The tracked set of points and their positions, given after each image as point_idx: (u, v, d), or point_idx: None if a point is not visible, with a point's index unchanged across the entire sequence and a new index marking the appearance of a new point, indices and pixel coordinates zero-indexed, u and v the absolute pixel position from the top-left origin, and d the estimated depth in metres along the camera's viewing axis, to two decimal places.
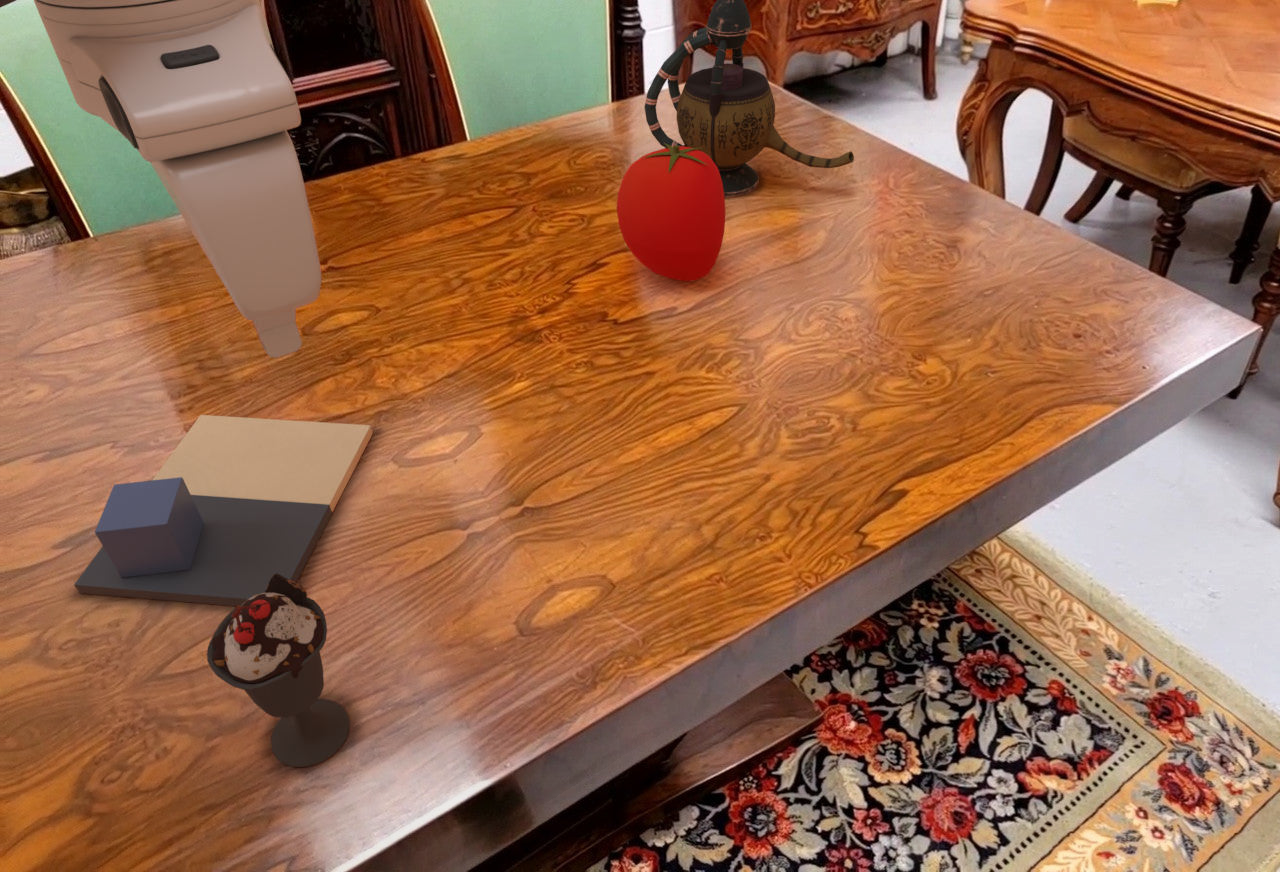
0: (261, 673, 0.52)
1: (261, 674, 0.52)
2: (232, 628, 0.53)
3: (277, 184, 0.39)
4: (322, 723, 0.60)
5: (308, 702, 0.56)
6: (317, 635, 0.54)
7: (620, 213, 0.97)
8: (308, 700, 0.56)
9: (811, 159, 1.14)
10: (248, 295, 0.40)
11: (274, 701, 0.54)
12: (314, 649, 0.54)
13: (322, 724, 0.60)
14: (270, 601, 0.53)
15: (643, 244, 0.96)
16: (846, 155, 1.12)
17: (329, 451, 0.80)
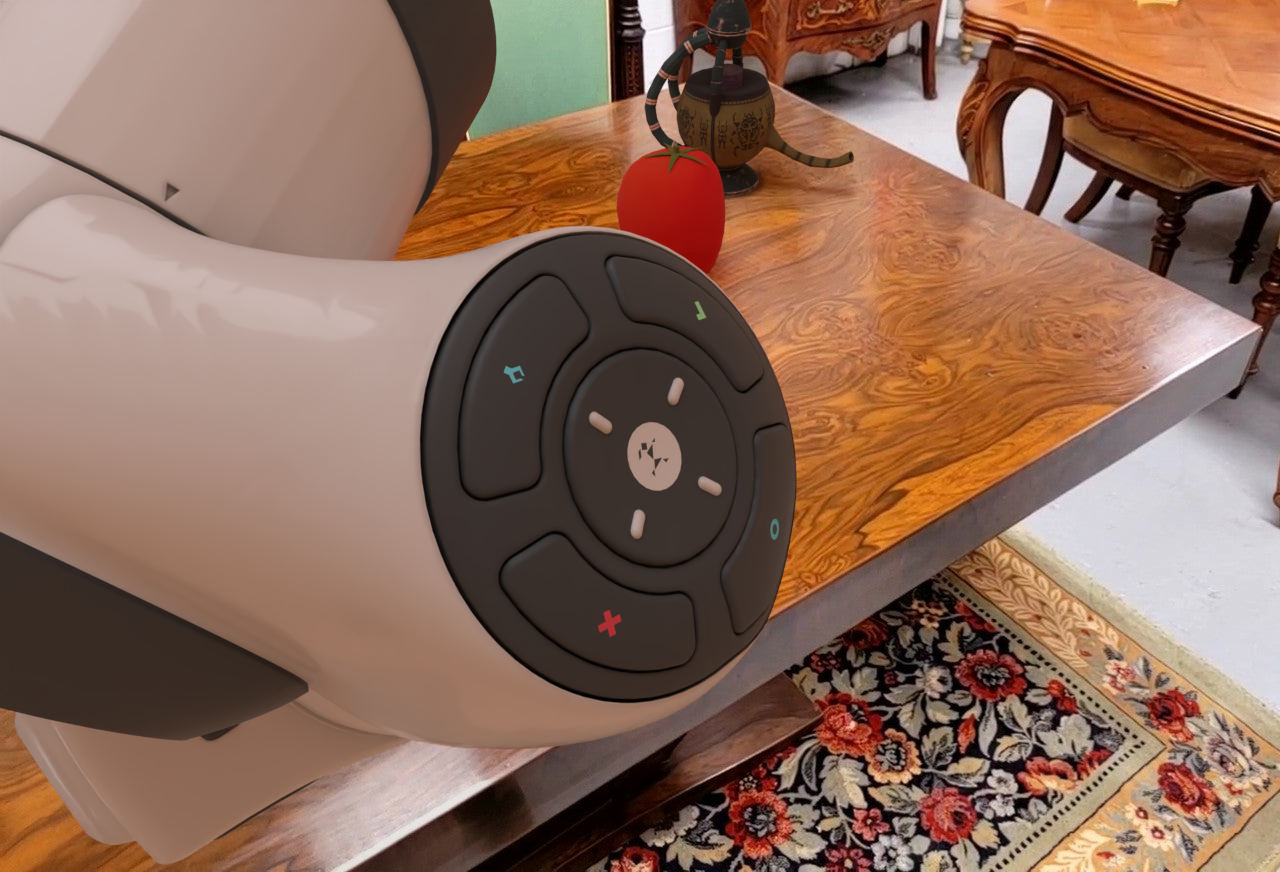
0: None
1: None
2: None
3: (88, 816, 0.25)
4: None
5: None
6: None
7: (620, 213, 0.97)
8: None
9: (811, 159, 1.14)
10: None
11: None
12: None
13: None
14: None
15: None
16: (846, 155, 1.12)
17: None
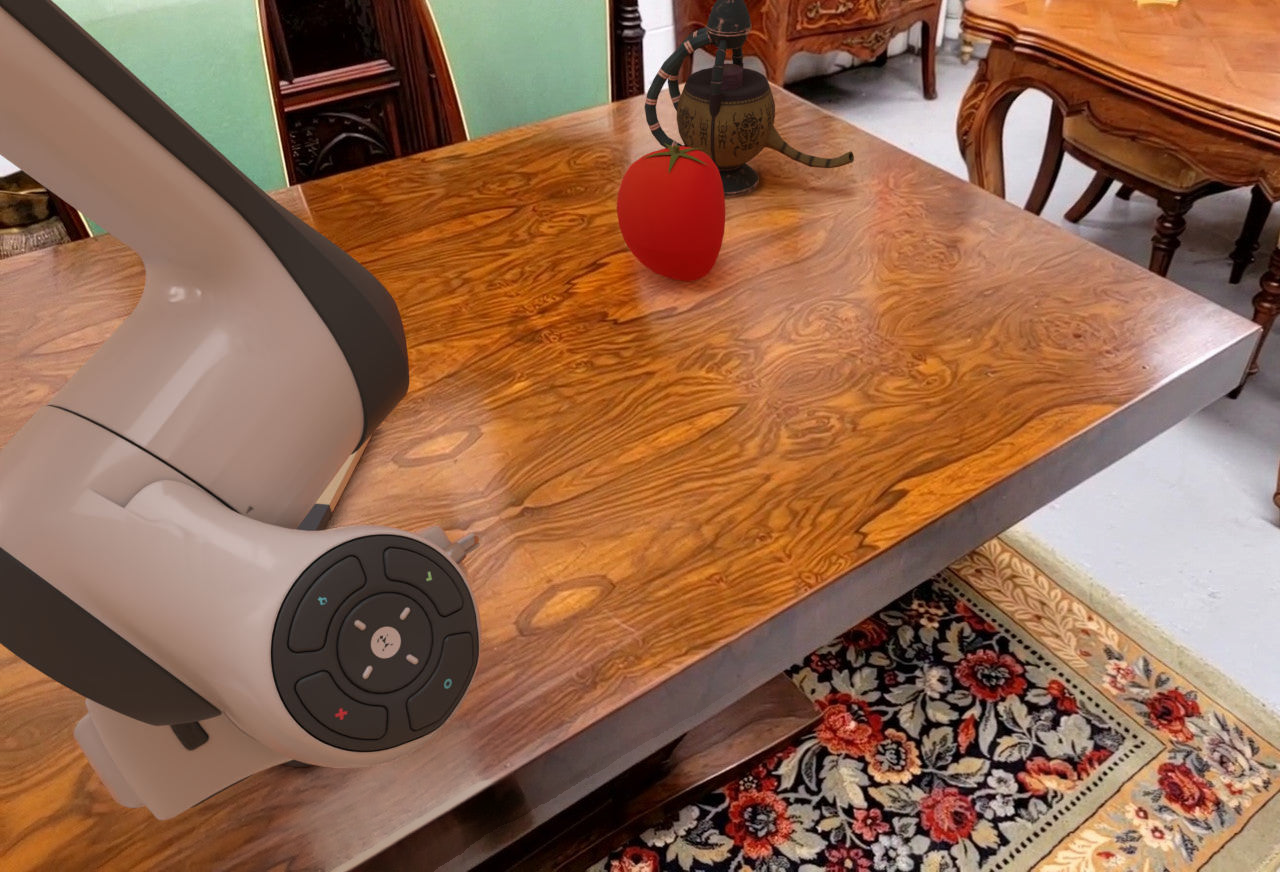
0: None
1: None
2: None
3: (117, 791, 0.42)
4: None
5: None
6: None
7: (620, 213, 0.97)
8: None
9: (811, 159, 1.14)
10: None
11: None
12: None
13: None
14: None
15: (643, 244, 0.96)
16: (846, 155, 1.12)
17: None
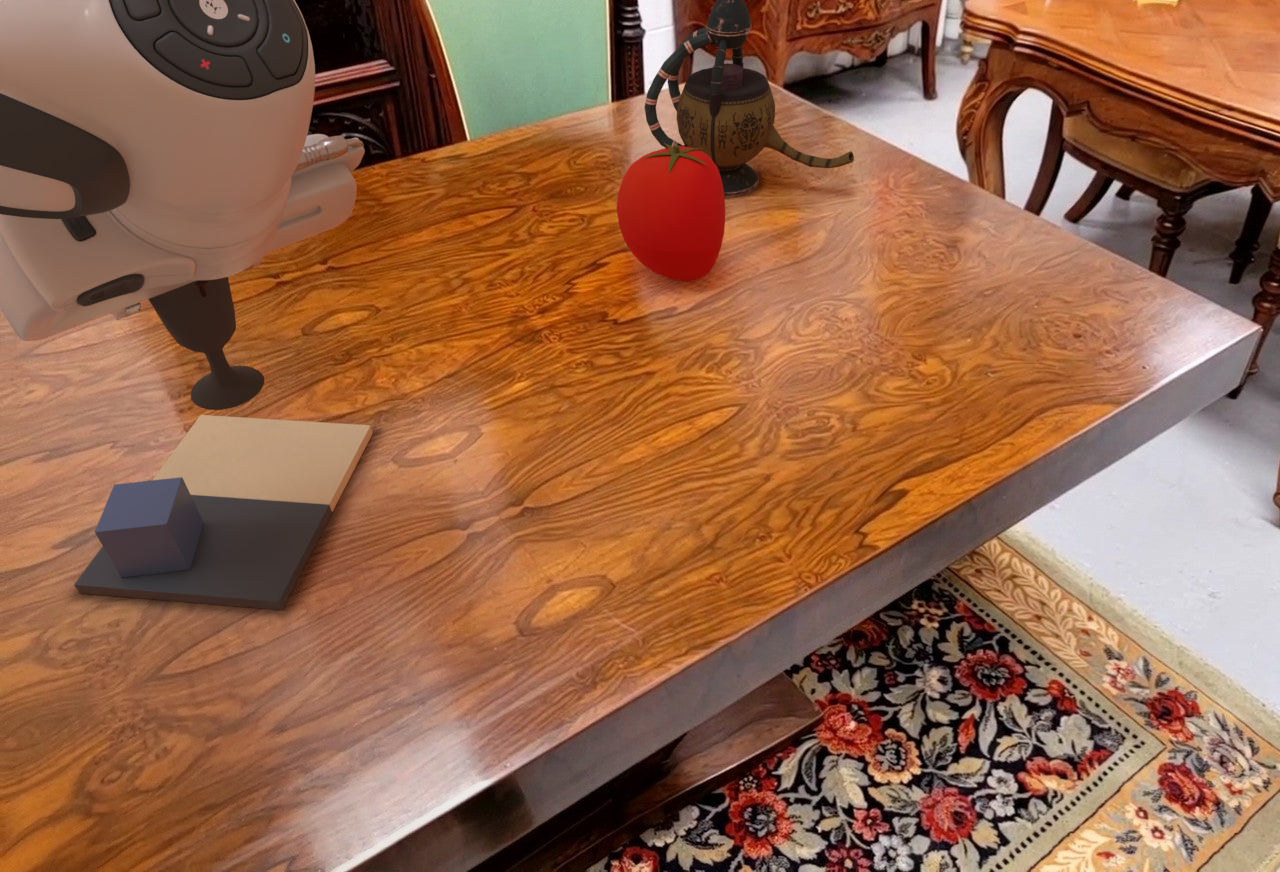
0: None
1: None
2: None
3: (19, 301, 0.47)
4: (238, 376, 0.65)
5: (219, 335, 0.61)
6: None
7: (620, 213, 0.97)
8: (219, 332, 0.61)
9: (811, 159, 1.14)
10: None
11: (185, 323, 0.59)
12: None
13: (238, 377, 0.65)
14: None
15: (643, 244, 0.96)
16: (846, 155, 1.12)
17: (329, 451, 0.80)
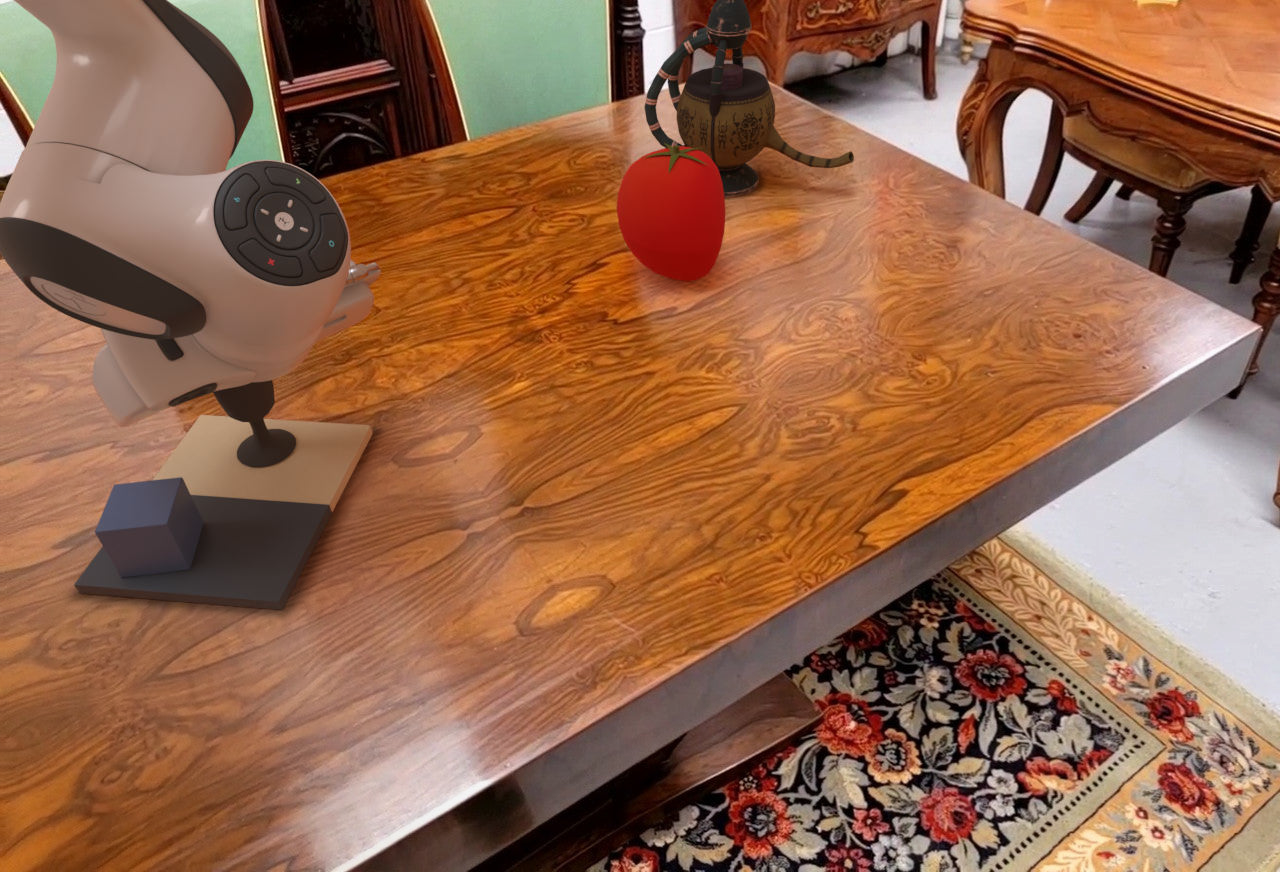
0: None
1: None
2: None
3: (122, 401, 0.62)
4: (275, 439, 0.80)
5: (262, 409, 0.76)
6: None
7: (620, 213, 0.97)
8: (262, 407, 0.76)
9: (811, 159, 1.14)
10: (95, 387, 0.65)
11: (236, 401, 0.74)
12: None
13: (275, 440, 0.80)
14: None
15: (643, 244, 0.96)
16: (846, 155, 1.12)
17: (329, 451, 0.80)
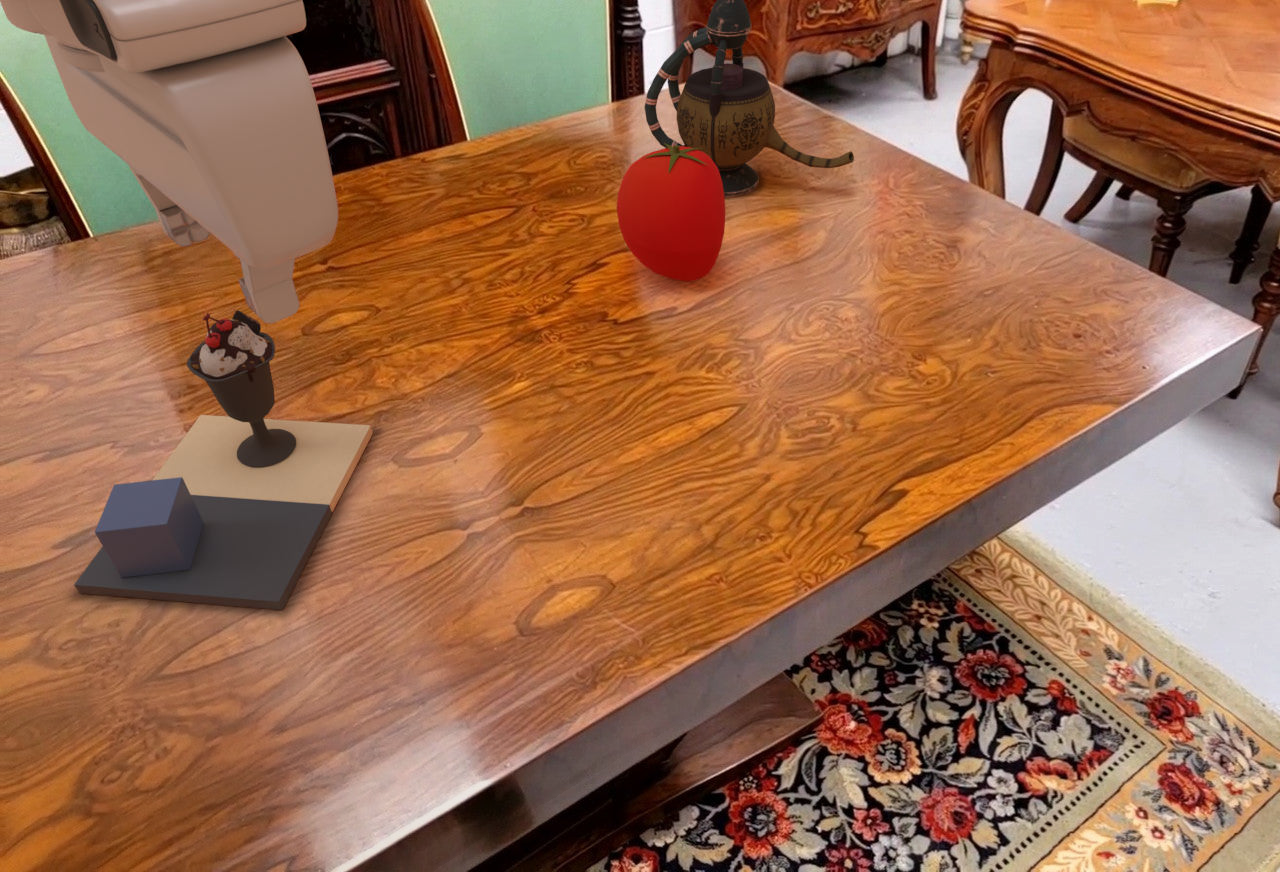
0: (225, 370, 0.72)
1: (225, 371, 0.72)
2: (205, 341, 0.72)
3: (287, 98, 0.33)
4: (275, 439, 0.80)
5: (262, 409, 0.76)
6: (267, 352, 0.74)
7: (620, 213, 0.97)
8: (262, 407, 0.76)
9: (811, 159, 1.14)
10: (259, 236, 0.34)
11: (236, 401, 0.74)
12: (265, 361, 0.74)
13: (275, 440, 0.80)
14: (232, 322, 0.73)
15: (643, 244, 0.96)
16: (846, 155, 1.12)
17: (329, 451, 0.80)
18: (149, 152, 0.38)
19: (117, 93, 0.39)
